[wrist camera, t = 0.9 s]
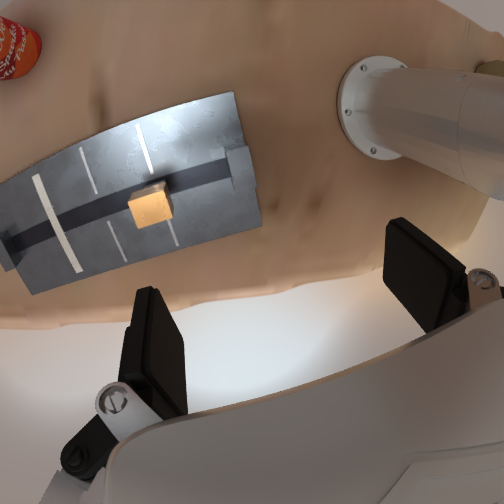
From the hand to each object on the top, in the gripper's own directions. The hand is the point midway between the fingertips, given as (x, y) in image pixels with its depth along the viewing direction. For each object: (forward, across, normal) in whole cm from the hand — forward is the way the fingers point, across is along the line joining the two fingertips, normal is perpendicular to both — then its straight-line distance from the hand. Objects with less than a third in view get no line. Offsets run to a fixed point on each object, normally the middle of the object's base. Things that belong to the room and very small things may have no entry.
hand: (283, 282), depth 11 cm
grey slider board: (+20, +13, 0) cm, 24 cm away
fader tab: (+18, +7, 0) cm, 19 cm away
